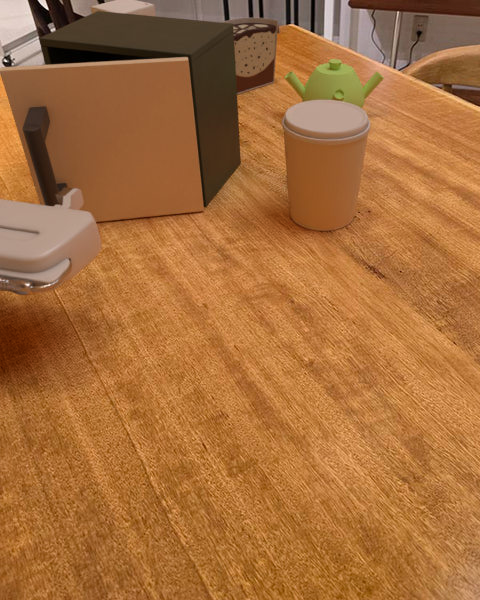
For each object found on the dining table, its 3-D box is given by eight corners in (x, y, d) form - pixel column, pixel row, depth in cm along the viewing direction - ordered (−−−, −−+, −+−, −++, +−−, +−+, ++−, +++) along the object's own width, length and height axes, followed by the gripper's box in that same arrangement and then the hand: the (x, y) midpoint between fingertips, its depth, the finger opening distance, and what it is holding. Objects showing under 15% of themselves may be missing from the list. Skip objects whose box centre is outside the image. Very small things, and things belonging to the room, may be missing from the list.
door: (209, 238, 65) (193, 79, 54) (41, 256, 62) (-12, 92, 51) (203, 207, 70) (187, 56, 59) (47, 222, 67) (0, 67, 56)
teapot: (329, 96, 98) (332, 43, 93) (384, 116, 92) (390, 60, 87) (282, 115, 92) (281, 59, 87) (337, 137, 86) (340, 79, 81)
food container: (257, 72, 107) (255, 12, 101) (280, 80, 104) (280, 20, 98) (203, 88, 101) (197, 25, 94) (225, 98, 97) (221, 34, 91)
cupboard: (206, 207, 70) (191, 54, 59) (75, 185, 74) (38, 38, 63) (241, 163, 79) (233, 23, 68) (123, 146, 83) (97, 10, 72)
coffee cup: (372, 204, 71) (383, 107, 64) (344, 243, 65) (352, 140, 57) (302, 187, 74) (304, 93, 67) (268, 223, 68) (266, 122, 60)
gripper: (34, 261, 40) (126, 170, 51) (-212, 221, 44) (-78, 144, 54) (57, 329, 44) (138, 232, 55) (-170, 287, 48) (-53, 204, 58)
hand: (29, 188), depth 55 cm, fingers open, 8 cm apart
